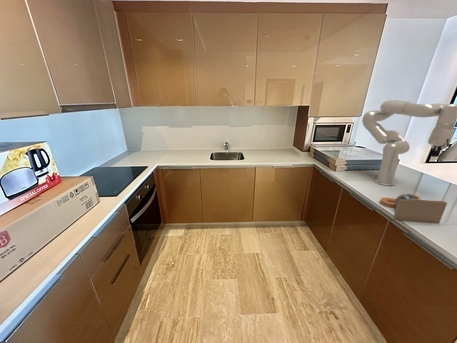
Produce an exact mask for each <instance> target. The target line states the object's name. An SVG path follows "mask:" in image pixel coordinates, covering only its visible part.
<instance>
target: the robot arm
mask: <svg viewBox="0 0 457 343" xmlns="http://www.w3.org/2000/svg"><path fill="white" fill-rule="evenodd" d="M379 108H380V109H377V110H370V111H367V112H366V113H364V115H363V117H362V120H361V121H362V126H363V127H364V129H366V130H367V131H368V133H370V135H371V136H372V137H373V139H374V140H375V141H376V142H377V143H378V144H380V145H381V144H382V145H384V144H385V145H384V146H383V148H382V159H381V164H380V166H379V171H378V174H377V178H375V179H374V182H375V183H376V184H379V185H382V186H390V187H391V186H395V185H396V182H395V181H394V178H395V175H396V172H397V170H398V169H397V168H398V165H399V161H400V160H399V155H402V154H405V153H408V152H409V150H410V143H409V142H408V141H407V140H406V139H405V138H404V137H403V136H402V135H401V134H400V133H399V132H398V131H396V130H392V129H391V130H386V129H385V128H384V127H383V126H382V124H380V123H378V122H382V121H384V120H387V119H388V118H390V117H391V116H393V115H404V116H409V117H415V118H431V117H437V121H436V123H435V126H434V128H433V129H432V131H431V132H430V135H429V138H428V141H427V143H428V144H429V145H430V146H431V153H430V157H432V158H435V157H436V158H438V157H440V153H441V151H442V150H446V149H447V148H448V147H449V146H450V144H451V141H452V138H453V134H454V128H455V126H456V122H457V103H446V104H444V103H427V104H426V103H413V102H411V101H409V100H407V101H405V100H399V99H392V100H385V101H384V102H382V103H381V105H380V107H379Z"/></svg>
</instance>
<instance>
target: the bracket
mask: <svg viewBox="0 0 457 343" xmlns="http://www.w3.org/2000/svg"><path fill="white" fill-rule="evenodd" d="M410 194H411V193H410ZM411 195H413V196H415V197H416V198H417V200H422V199H421V197H419V196H418V195H416V194H411ZM395 200H396V198H394V197H381V198H380V202H379V204H380V205H381V206H383V207H385V208H391V209H396V206H395V204H394V202H395Z"/></svg>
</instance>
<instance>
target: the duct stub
mask: <svg viewBox="0 0 457 343" xmlns="http://www.w3.org/2000/svg"><path fill="white" fill-rule="evenodd" d="M413 195H414V194H412V195H411V193H402V194H400V195H399V196H397V197H395V199H396V200H395V202H394V204H395V206H396V208H395V211H394V214H393V217H392V218H393V220H395V221H399V222H400V221H401V222H402V221H403V222H416V223H417V222H418V223H419V222H420V223H432V224H439V223H440V222H441V220H442V218H443V214H444V212H445V210H446V207H447V205H448V202H446V201H444V200H443V201H442V200H430V199H428V200H427V199H426V200H425V199H421V200H417V198H416V197H415V196H413Z"/></svg>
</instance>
